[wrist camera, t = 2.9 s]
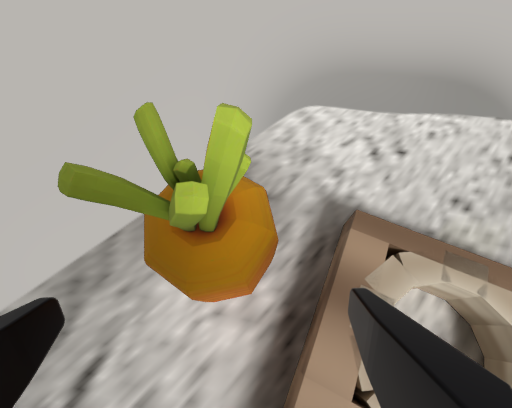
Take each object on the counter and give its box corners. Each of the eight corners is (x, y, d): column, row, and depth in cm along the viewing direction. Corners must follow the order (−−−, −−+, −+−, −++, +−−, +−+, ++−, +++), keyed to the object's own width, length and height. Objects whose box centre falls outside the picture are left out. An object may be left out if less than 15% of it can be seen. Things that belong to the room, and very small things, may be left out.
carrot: (196, 302, 17) (-62, 239, 4) (214, 237, 19) (96, 38, 6) (264, 317, 16) (270, 308, 3) (276, 248, 19) (309, 58, 5)
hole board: (564, 753, 9) (684, 927, 7) (245, 523, 12) (239, 580, 10) (545, 304, 16) (601, 301, 14) (343, 225, 19) (356, 209, 17)
